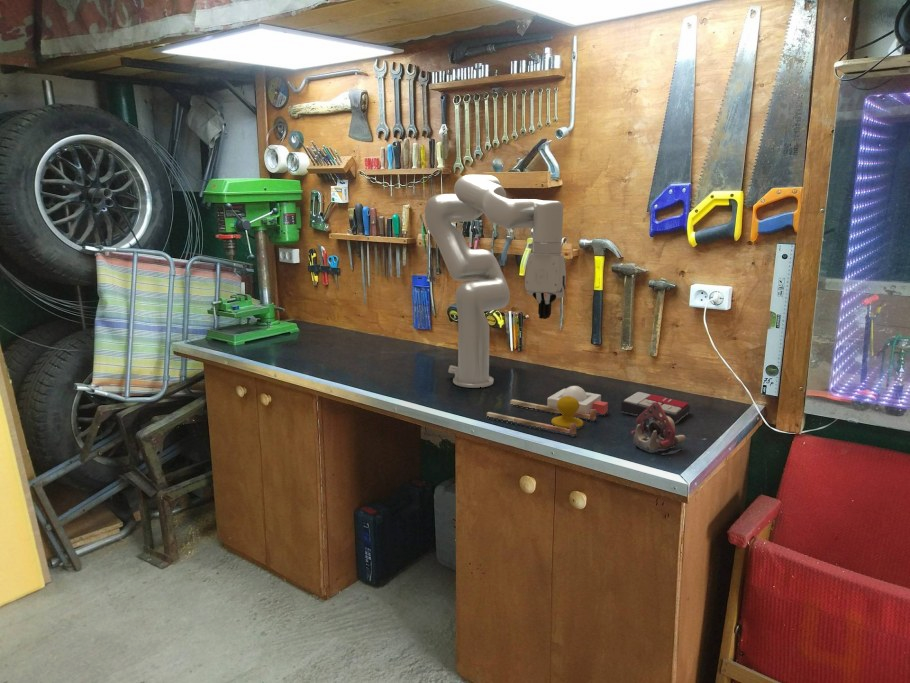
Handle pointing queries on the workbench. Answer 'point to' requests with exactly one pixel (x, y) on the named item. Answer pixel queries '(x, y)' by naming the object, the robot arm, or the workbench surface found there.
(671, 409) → the grey red flat block
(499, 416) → the wooden brackets
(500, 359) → the workbench surface
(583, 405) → the dome base
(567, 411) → the doorknob
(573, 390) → the dome
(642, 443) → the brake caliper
